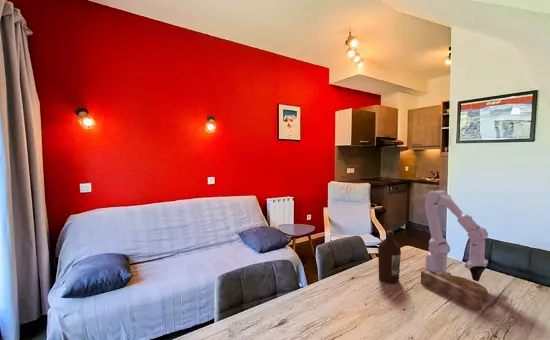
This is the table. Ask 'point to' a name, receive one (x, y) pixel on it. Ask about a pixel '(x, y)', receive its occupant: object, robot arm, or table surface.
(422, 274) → the walnut board
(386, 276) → the olive oil
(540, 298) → the table surface
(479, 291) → the brown oblong lump
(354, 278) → the table surface
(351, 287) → the table surface
